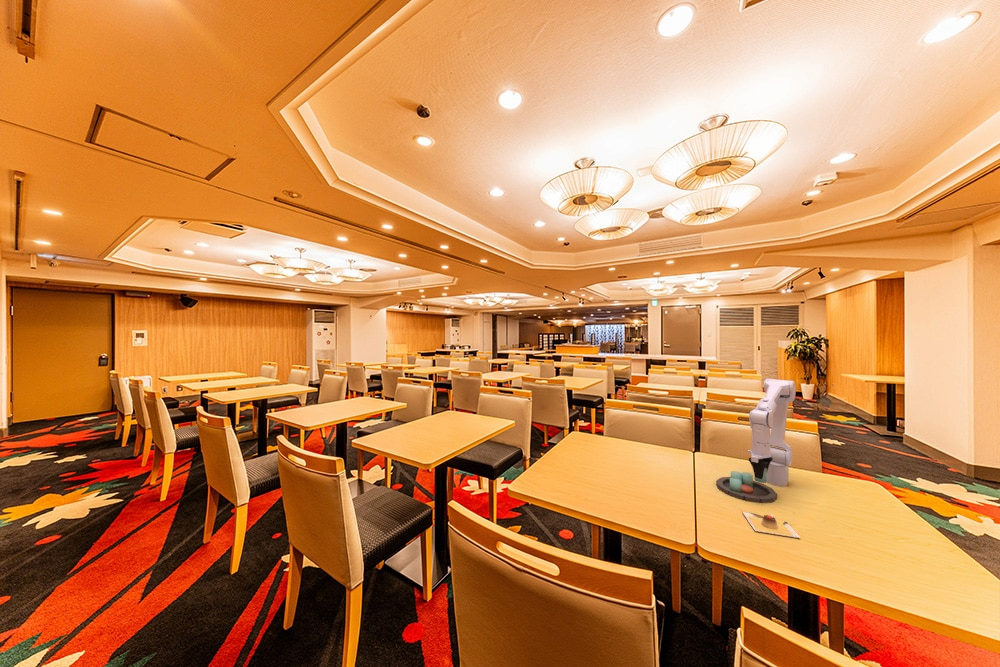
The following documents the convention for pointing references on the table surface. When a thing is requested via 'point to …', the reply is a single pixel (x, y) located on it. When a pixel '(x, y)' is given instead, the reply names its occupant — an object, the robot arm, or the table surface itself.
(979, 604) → the table surface
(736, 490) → the grey green cylinder
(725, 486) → the ring tray
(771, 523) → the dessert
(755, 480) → the bead
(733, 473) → the bead
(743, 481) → the pale green cylinder
